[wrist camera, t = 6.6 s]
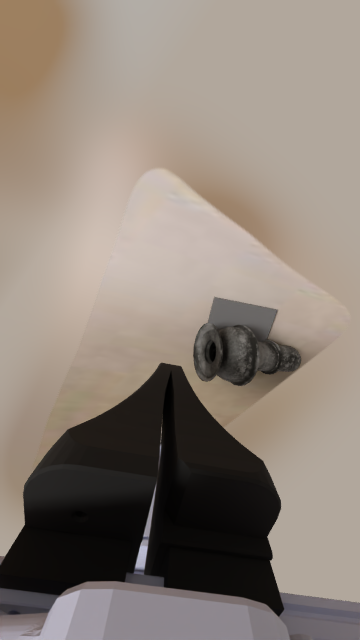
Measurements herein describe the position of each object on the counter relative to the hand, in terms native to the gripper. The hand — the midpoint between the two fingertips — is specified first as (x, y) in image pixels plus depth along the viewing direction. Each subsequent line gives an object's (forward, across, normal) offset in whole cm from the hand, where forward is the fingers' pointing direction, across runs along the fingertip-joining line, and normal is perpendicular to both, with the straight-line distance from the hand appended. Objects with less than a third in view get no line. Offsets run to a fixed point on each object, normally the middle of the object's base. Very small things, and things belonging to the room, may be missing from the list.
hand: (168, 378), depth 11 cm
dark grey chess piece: (+5, -3, 0) cm, 6 cm away
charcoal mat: (+9, -7, -1) cm, 12 cm away
